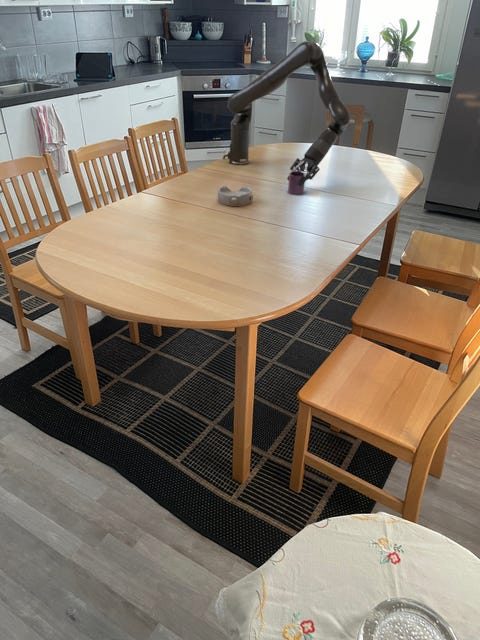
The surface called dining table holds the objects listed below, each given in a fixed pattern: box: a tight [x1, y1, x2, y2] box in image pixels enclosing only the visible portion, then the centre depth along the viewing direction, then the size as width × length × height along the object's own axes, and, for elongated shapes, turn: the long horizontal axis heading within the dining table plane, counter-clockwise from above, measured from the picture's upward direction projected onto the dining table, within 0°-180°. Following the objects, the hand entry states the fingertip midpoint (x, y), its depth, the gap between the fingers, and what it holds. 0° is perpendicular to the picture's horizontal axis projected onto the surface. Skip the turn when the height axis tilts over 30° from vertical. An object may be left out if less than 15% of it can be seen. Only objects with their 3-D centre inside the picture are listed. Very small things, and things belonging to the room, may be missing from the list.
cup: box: [287, 171, 306, 196], centre depth 214 cm, size 7×7×8 cm
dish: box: [217, 185, 254, 207], centre depth 203 cm, size 14×14×5 cm
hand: (293, 182), depth 213 cm, fingers closed on cup, 7 cm apart
